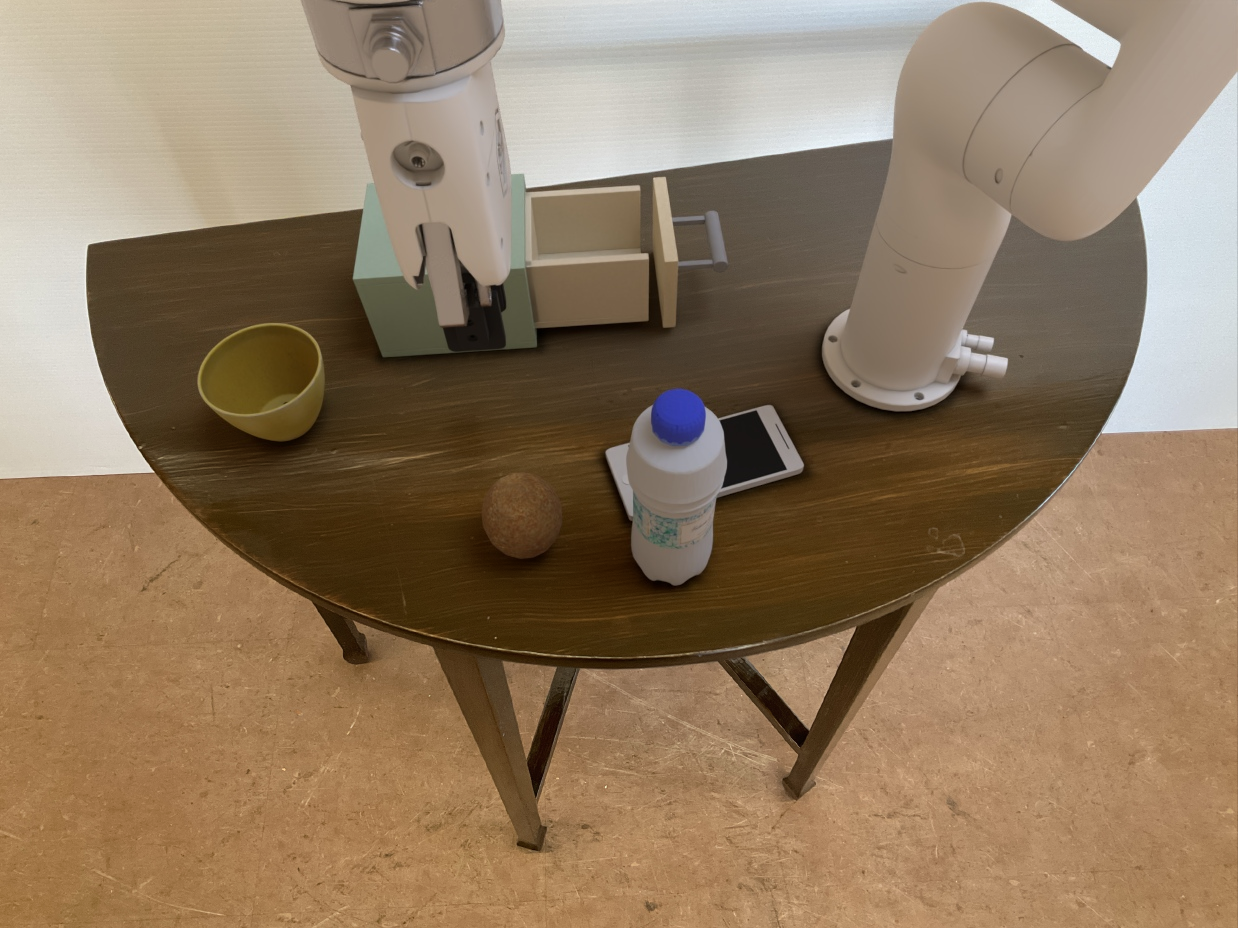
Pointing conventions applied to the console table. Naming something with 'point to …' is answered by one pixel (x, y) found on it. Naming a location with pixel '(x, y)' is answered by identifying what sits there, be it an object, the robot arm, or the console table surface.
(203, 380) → the flower pot
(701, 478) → the bottle
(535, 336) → the cabinet
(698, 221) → the drawer
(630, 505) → the smartphone
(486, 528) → the fruit
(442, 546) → the console table surface
